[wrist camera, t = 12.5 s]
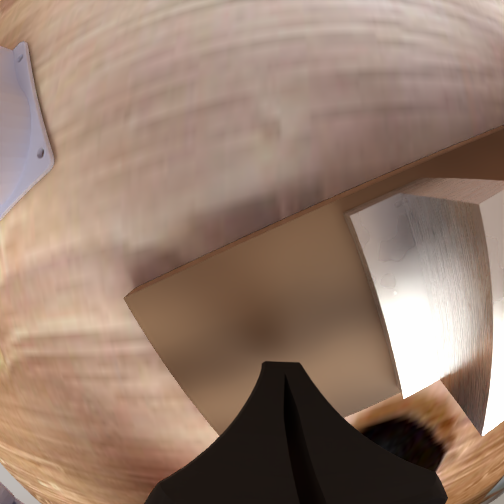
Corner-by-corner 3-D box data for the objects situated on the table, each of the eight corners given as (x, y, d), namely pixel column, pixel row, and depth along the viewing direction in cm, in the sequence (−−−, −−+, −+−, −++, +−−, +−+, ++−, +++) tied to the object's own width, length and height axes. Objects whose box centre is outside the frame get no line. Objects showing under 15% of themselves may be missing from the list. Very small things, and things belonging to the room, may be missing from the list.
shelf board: (134, 288, 12) (123, 298, 11) (551, 106, 9) (562, 105, 7) (234, 435, 14) (232, 450, 13) (574, 240, 11) (584, 243, 9)
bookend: (342, 212, 10) (410, 241, 5) (421, 177, 10) (516, 181, 4) (397, 387, 12) (438, 463, 7) (456, 353, 11) (511, 413, 6)
